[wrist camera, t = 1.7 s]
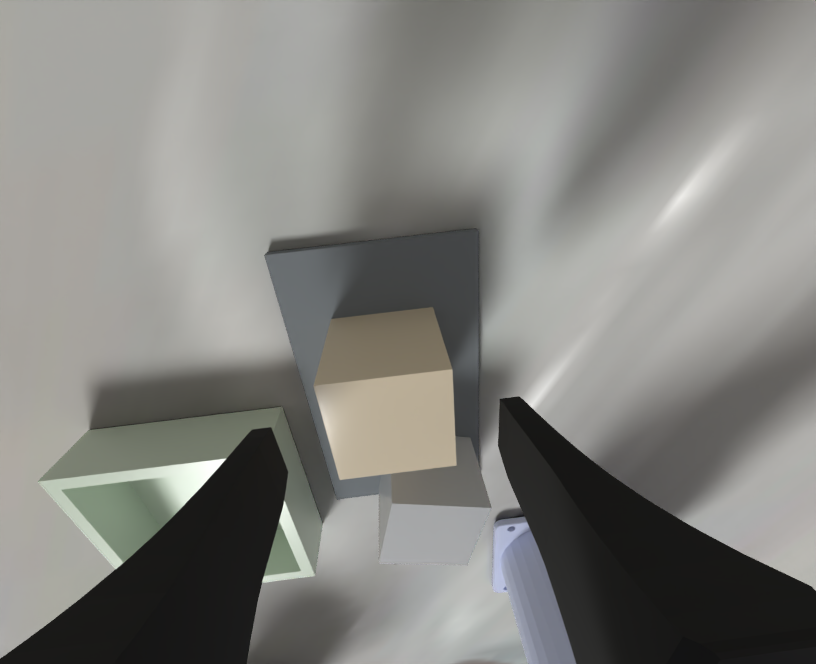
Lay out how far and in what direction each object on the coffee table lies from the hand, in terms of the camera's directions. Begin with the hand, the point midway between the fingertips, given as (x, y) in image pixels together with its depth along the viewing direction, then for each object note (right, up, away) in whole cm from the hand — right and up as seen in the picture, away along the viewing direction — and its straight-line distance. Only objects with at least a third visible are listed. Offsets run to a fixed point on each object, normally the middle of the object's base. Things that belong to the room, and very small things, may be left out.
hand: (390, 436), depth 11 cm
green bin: (-10, -5, +8) cm, 13 cm away
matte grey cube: (+1, -4, +8) cm, 9 cm away
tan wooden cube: (0, +2, +4) cm, 5 cm away
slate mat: (0, +1, +6) cm, 6 cm away
